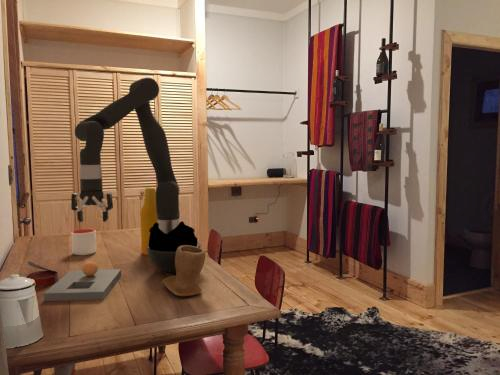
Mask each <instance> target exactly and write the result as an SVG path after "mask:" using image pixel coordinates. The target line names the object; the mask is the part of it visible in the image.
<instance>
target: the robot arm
mask: <svg viewBox="0 0 500 375" xmlns="http://www.w3.org/2000/svg"><path fill="white" fill-rule="evenodd" d="M128 91H129V92H127V94H125V95H124V96H122V97H120V98H118V99H116V100H115V101H112V102H111V103H109V104H108V105H106V106H105V107H103V108H102V109H101V110H100V111H98V112H97V113H95V114H94V115H90V116H89V117H87V118H85V119H84V120H81V121H80V122H79V123H77V125H76V126H75V128H74V136H75V137H76V138H77V139H78V140H79V141H81V142H85V146H84V148H81V150H80V151H79V164H80V165H79V185H80V186H79V187H80V193H76V192H75V193H72V194H71V198H70V199H71V204H70V205H71V208H70V209H71V211H76V214H77V221H78V222H79V223H83V222H84V211H83V209H84V208H85V207H86V206H98V207H99V208H100V209H101V210H102V222H104V223H106V222H107V220H109V211H111V210H113V209H114V202H113V194H112V192H108V193H104V191H103V187H104V186H103V170H102V169H103V168H102V160H101V158H102V157H101V152H102V149H103V143H104V138H105V130H108V129H109V130H110V129H111V128H112V127H114V126H115V125H116V124H118V123H119V122H120V121H121V120H123V119H124V118H126V116H128V115H129V114H131V113H132V112H134V111H135V113H136V116H137V117H136V118H137V121H138V124H139V126H140V130H141V135H142V139H143V144H144V148H145V151H146V153H147V156H148V159H149V161H150V163H151V164H152V167H153V169H154V173H155V178H156V183H157V185H156V188H155V191H156V212H157V223H159V229H160V230H161V231H163V232H164V233H165V234H168V233H169V232H170V231H172V230H173V229H175V228H176V227H177V225H179V223H180V222H181V219H180V218H181V217H180V216H181V215H180V214H181V213H180V205H179V204H180V198H179V195H180V186H179V184H178V181H177V178H176V175H175V172H174V170H173V166H172V161H171V160H172V159H171V153H170V147H169V144H168V139H167V136H166V131H165V129H164V128H163V127H162V125H161V124H160V122H159V121H158V120H157V119H156V117H155V115H154V114H153V111H152V108H151V104H150V102H151V101H153V100H154V99H156V98H157V97H158V96H159V94H160V86H159V84H158V82H157V81H156V80H155V79H154V78H151V77H148V76H147V77H142V78H139V79H137V80H135V81H133V82H132V83H131V84H130V85H129V88H128ZM103 198H105V200H106V203H107V205H106V203H105V202H104V201H103ZM79 199H81V201H80V204H79V205H78V200H79Z"/></svg>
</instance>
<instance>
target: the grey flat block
mask: <svg viewBox="0 0 500 375" xmlns="http://www.w3.org/2000/svg"><path fill="white" fill-rule="evenodd" d="M121 277H122V269H121V268H119V269H117V268H115V269H113V268H112V269H97V272H96V273H95V274H94V275H92V276H87V275H85V274H84V273H83V271H82V270H81V269H80V270H78V269H77V270H70V271H68V272H67V273H66V274H65V275H64V276H62V277H61V278H60V279H58V282H56V283H55V284H52V286H50V287H49V289H47V290H46V291H45V292H44V293H43V301H44V302H64V301H67V302H68V301H69V302H70V301H99V300H100V301H101V300H103V301H104V300H105V299H106V297H107V296H108V295H109V293H110V292H111V290H112V289H113V288H114V286H115V285H116V284H117V282H118V281H119V279H120V278H121Z"/></svg>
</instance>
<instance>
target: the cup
mask: <svg viewBox="0 0 500 375" xmlns="http://www.w3.org/2000/svg"><path fill="white" fill-rule="evenodd" d="M70 233H71V249H72V250H71V251H72V254H73V255H76V256H88V255H89V256H90V255H92V254H95V253H96V251H97V232H96V229H93V228H84V229H83V228H82V229H75V230H73V231H71V232H70Z"/></svg>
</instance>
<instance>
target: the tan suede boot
mask: <svg viewBox="0 0 500 375" xmlns="http://www.w3.org/2000/svg"><path fill="white" fill-rule="evenodd" d="M205 262H206V252H205V249H203V248H201V247H200V248H198V247H194V246H189V245H183V246H180V247H178V248H177V250H176V256H175V267H176V272H175V274H176V275H170V276H168V277H165V278H164V279H163V280H162V284H163V285H164V286H165V287H166V288H167V289H168V290H169V291H170V292H171V293H172V294H174V295H175V296H178V297H188V296H189V297H190V296H195V295H198V294H200V293H202V291H203V290H202V287H201V286H200V284H199V282H198V281H199V277H200V276H201V275H200V274H201V273H202V270H203V268H204V265H205Z"/></svg>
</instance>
